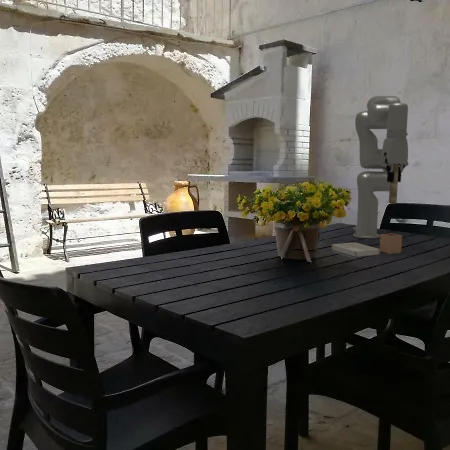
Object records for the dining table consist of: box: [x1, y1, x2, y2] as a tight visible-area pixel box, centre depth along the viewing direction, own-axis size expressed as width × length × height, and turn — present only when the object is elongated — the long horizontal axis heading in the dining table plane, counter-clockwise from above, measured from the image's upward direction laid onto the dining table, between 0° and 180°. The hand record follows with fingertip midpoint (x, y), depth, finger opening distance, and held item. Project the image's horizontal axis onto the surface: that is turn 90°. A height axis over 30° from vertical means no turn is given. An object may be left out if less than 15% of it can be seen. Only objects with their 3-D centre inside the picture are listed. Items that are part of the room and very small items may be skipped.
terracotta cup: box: [379, 233, 403, 255], centre depth 211 cm, size 6×6×8 cm
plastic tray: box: [331, 242, 381, 260], centre depth 211 cm, size 16×12×3 cm
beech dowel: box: [388, 164, 399, 205], centre depth 207 cm, size 3×3×16 cm
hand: (393, 181), depth 207 cm, fingers closed on beech dowel, 3 cm apart
